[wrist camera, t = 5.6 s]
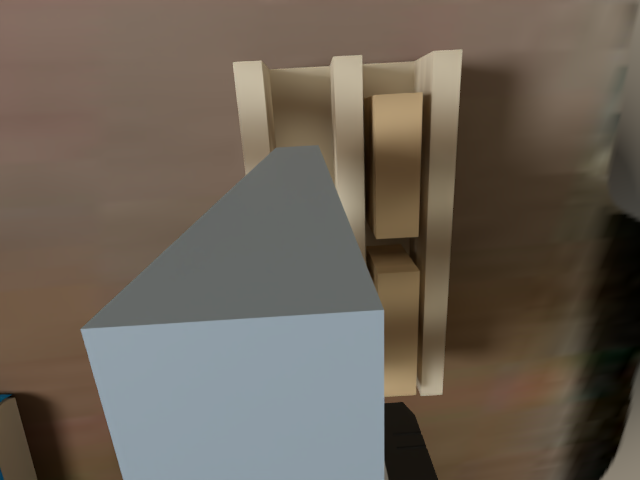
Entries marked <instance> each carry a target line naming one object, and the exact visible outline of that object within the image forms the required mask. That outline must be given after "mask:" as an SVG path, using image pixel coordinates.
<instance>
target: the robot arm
mask: <svg viewBox="0 0 640 480" xmlns="http://www.w3.org/2000/svg"><path fill="white" fill-rule="evenodd" d="M384 480H438V478H437V475H436V473H435V470H434V467H433V464H432V461H431V459H430V456H429V453H428V450H427V449H426V445H425V442H424V439H423V436H422V435H421V431H420V428H419V425H418V423H417V420H416V417H415V415H414V414H413V413H412V412H411V411H410V410H409V408H408V407H407V406H406V405H405V404H404V403H403V402H398V403H384Z"/></svg>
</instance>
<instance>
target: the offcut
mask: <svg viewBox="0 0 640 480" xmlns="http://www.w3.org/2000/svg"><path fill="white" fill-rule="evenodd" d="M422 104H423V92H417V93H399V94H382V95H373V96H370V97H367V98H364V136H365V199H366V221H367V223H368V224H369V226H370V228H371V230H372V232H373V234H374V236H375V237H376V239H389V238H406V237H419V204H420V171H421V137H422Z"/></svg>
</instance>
